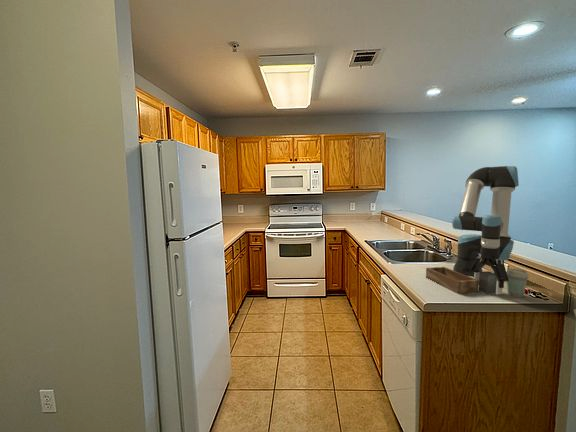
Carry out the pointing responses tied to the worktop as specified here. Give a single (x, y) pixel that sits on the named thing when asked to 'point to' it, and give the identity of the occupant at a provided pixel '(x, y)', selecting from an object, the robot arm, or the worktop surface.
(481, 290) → the dark grey block
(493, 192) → the robot arm
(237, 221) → the worktop surface
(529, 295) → the worktop surface
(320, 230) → the worktop surface
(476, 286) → the wooden box
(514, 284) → the coffee cup
